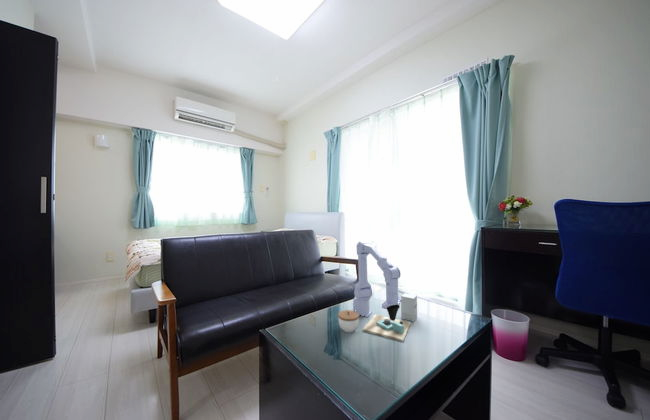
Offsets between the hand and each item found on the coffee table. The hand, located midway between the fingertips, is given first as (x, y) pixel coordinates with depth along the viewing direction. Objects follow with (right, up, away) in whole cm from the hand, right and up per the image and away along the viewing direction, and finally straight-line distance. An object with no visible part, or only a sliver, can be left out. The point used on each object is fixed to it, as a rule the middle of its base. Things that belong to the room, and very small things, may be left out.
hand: (392, 319), depth 110 cm
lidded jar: (-21, -8, +6) cm, 23 cm away
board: (-1, -8, +7) cm, 11 cm away
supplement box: (+15, -8, +19) cm, 26 cm away
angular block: (+1, -7, +5) cm, 8 cm away
